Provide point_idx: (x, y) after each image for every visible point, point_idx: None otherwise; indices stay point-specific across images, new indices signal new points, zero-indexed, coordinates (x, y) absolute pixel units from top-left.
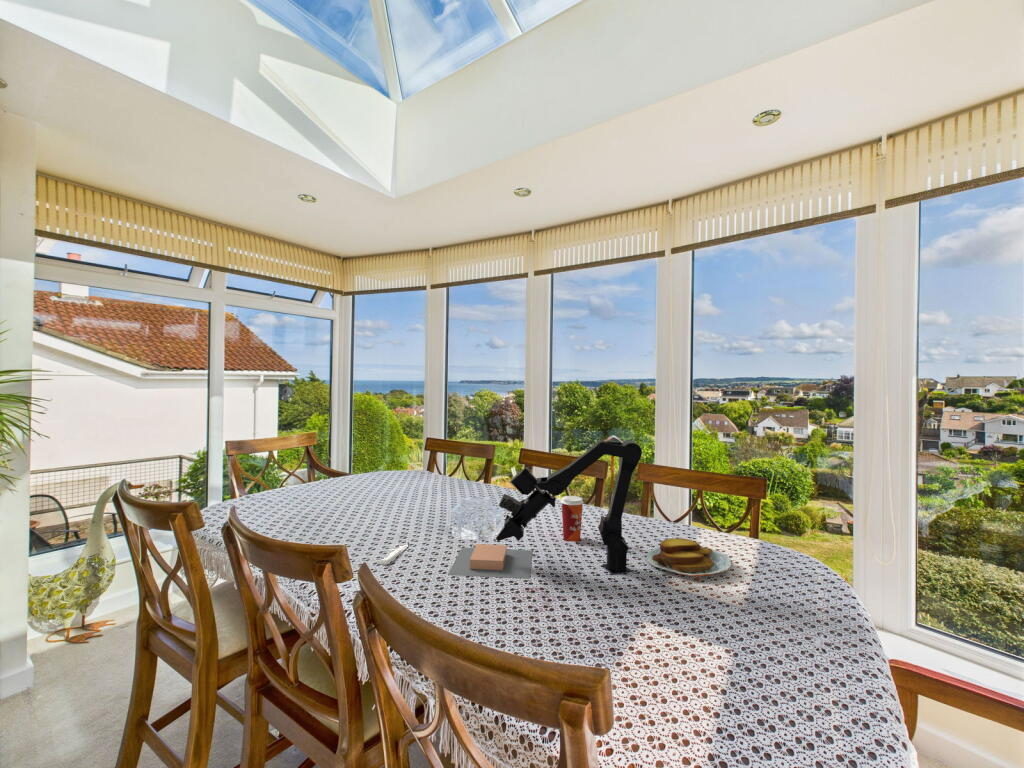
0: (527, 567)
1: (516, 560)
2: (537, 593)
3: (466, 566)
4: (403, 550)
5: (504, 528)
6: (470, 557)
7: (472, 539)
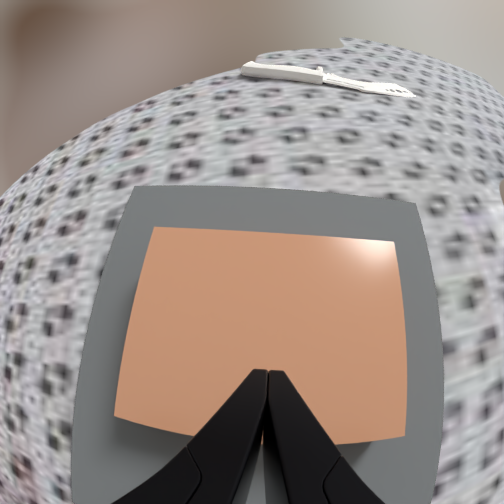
0: None
1: None
2: (9, 477)
3: None
4: (335, 84)
5: (122, 500)
6: None
7: (498, 239)
